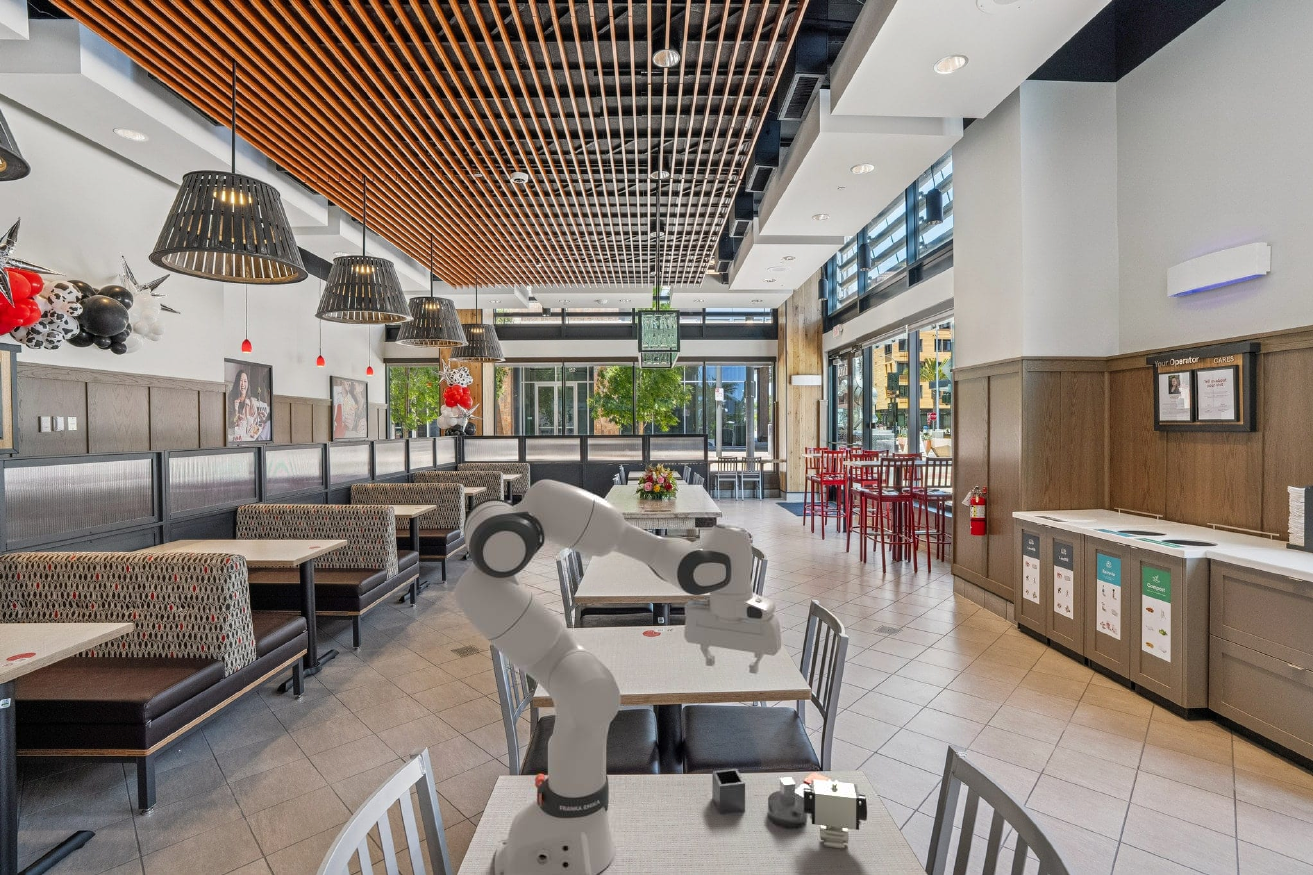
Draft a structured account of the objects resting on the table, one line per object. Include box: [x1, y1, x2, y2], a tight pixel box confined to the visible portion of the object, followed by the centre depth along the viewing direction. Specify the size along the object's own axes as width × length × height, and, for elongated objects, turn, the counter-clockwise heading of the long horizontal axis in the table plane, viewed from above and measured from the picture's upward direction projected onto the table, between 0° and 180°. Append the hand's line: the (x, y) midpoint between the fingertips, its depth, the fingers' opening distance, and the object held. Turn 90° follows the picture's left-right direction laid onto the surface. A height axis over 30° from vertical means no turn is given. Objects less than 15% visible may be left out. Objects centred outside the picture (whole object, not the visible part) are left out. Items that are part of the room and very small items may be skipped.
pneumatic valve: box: [803, 779, 868, 850], centre depth 120 cm, size 6×12×12 cm, turn 78°
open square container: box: [711, 768, 746, 815], centre depth 132 cm, size 6×6×6 cm
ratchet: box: [767, 772, 830, 830], centre depth 132 cm, size 18×8×8 cm, turn 136°
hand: (731, 668), depth 127 cm, fingers open, 8 cm apart
